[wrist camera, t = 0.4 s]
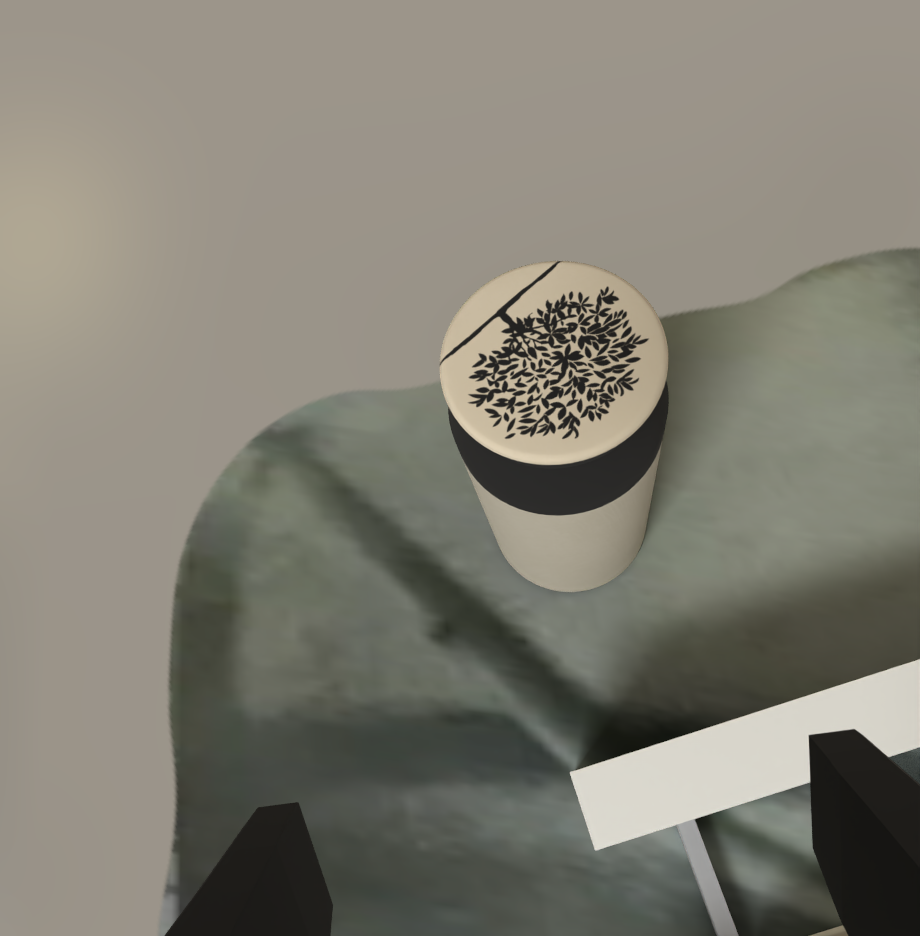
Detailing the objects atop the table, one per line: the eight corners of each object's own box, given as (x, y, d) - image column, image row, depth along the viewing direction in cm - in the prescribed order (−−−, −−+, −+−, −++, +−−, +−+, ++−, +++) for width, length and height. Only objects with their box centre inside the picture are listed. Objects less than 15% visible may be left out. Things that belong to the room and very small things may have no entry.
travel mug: (677, 536, 42) (730, 375, 25) (550, 623, 41) (518, 517, 25) (586, 423, 45) (579, 213, 28) (466, 503, 44) (388, 336, 28)
